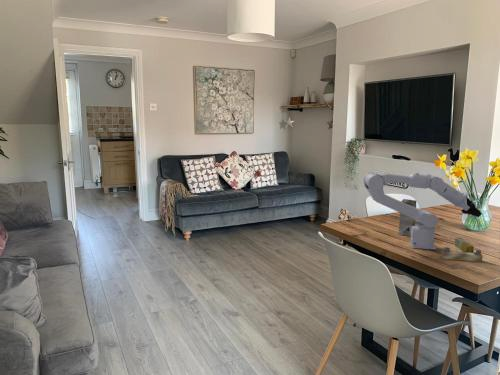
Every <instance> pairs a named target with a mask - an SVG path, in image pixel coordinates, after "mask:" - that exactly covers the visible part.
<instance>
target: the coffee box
mask: <svg viewBox="0 0 500 375" xmlns="http://www.w3.org/2000/svg"><path fill="white" fill-rule="evenodd" d="M400 201H401V202H403V203H405V204H408V205H410V206H412V207H414V208H417V200H414V199H413V200H412V199H406V198H405V199H404V198H402V200H400ZM398 219H399V220H398V221H399V222H398V235H399V236H407V237H411V229H412V226H416V220H415V219H413V218H411V217H409V216H406V215H404V214H402V213H400V212H399V218H398Z"/></svg>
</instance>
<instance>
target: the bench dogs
mask: <svg viewBox="0 0 500 375" xmlns="http://www.w3.org/2000/svg"><path fill="white" fill-rule="evenodd" d="M442 250H443V252H446V253H449V252H450V251H451V248H450V247H448V246H447V247H446V246H444V247H443V248H442ZM473 253H474V254H475V255H481V254H482V250H480V249H473Z"/></svg>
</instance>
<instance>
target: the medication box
mask: <svg viewBox="0 0 500 375" xmlns="http://www.w3.org/2000/svg"><path fill="white" fill-rule="evenodd" d="M454 246H455V247H456V249H459V250H460V252H467V253H474V250H475V249H474V245H472V244H471V243H470V242H468V241H466V240H465V239H463V238H462V237H455V241H454Z"/></svg>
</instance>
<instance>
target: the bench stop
mask: <svg viewBox="0 0 500 375" xmlns="http://www.w3.org/2000/svg"><path fill="white" fill-rule="evenodd" d="M441 258H442V259H444V260H445V259H446V260H458V261H466V262H467V261H469V262H480V263H482V262H483V255H482V253H481V255H475V254H474V252H473V253H467V252H463V251H452V250H450V252H449V253H446V252H443V249H442V250H441Z"/></svg>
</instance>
